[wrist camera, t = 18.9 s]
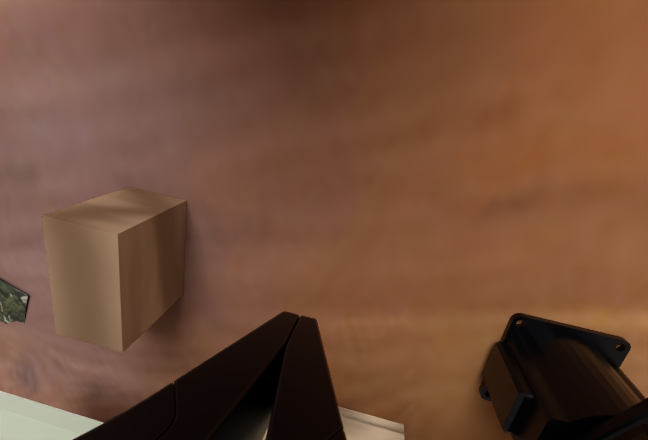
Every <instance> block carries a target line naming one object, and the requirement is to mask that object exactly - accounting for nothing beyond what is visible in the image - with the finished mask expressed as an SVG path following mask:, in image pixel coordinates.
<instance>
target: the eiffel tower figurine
mask: <svg viewBox="0 0 648 440" xmlns="http://www.w3.org/2000/svg"><path fill="white" fill-rule="evenodd" d="M27 297H28V295H27V294H25V293H23V292H21V291H20V290H18V289H16V288H14V287H12V286H10V285H9V284H7V283H6V282H4V281H2V280H1V279H0V321H2V322H4V323H6V324H7V323H8V322H14V321H19V322H22V323H25V311H26V304H27Z"/></svg>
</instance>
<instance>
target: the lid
mask: <svg viewBox="0 0 648 440" xmlns="http://www.w3.org/2000/svg"><path fill="white" fill-rule="evenodd" d="M101 424H103V422H100V421H96V420H93V419H90V418H87V417H83V416H80V415H77V414H74V413H70V412H67V411H64V410H61V409H57V408H54V407H51V406H48V405H44V404H41V403H38V402H35V401H31V400H28V399H25V398H21V397H18V396H15V395H12V394H8V393H5V392H2V391H0V440H73V439H74V438H76V437H78V436H80V435H82V434H84V433H86V432H88V431H90V430H92V429H94V428H95V427H97V426H99V425H101Z"/></svg>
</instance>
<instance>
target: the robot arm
mask: <svg viewBox="0 0 648 440" xmlns="http://www.w3.org/2000/svg"><path fill="white" fill-rule="evenodd" d="M519 320H523V322H522V323H521V324H516V322H517V321H519ZM619 344H622V345H621V346H620V347H618V348H616V346H617V345H619ZM630 348H631V346H630V344H629V343H628V342H627V341H626V340H625V339H624V338H622V337H619V336H615V335H610V334H606V333H602V332H598V331H594V330H590V329H585V328H581V327H577V326H573V325H569V324H564V323H560V322H556V321H552V320H548V319H544V318H539V317H535V316H531V315H527V314H523V313H516V314H514V315H512V316H511V318H510V320H509V322H508V324H507V326H506V329H505V331H504V333H503V336H502V338H501V340H500V341H498V342H497V343H496V344H495V346H494V348H493V350H492V352H491V355H490V357H489V359H488V362H487V364H486V366H485V369H484V371H483V377H484V379H483V381H482V383H481V386H480V388H479V391H480V394H481V397H482V398H483V399H486V400H489V401H492V403H493V406H494V408H495V411H496V414H497V417H498V420H499V423H500V425H501V427H502V429H503V431H504V432H506V433H509V434H511V436H512V439H513V440H648V398H645V397H644V396H643V395H642V393H641V392H640V391H639V390H638V389H637V388H636V387H635V385H634V384H633V383H632V382H631V381H630V380H629V378H628V377H627V376H626V375H625V374H624V373H623V372H622V370H621V369H620V368H619V367H620V366H621V364H622V362H623V361H624V359H625V357H626V356H627V354H628V352H629V351H630ZM486 391H489V393H485V392H486ZM267 428H268V430H267ZM266 430H267V435H266V439H265V440H347V439H346V435H345V432H344V431H343V430H344V427H343V423H342V419H341V415H340V411H339V407H338V403H337V399H336V395H335V391H334V387H333V383H332V379H331V375H330V371H329V367H328V363H327V359H326V355H325V351H324V347H323V343H322V339H321V335H320V331H319V327H318V323H317V320H316V319H314V318H310V317H306V316H300V317H299V315H298V314H294V313H290V312H285V311H284V312H282V313H280V314H278V315H277V316H275V317H274V318H272V319H271V320H269V321H268V322H266V323H264V324H263V325H261V326H260V327H258V328H257V329H255V330H253V331H252V332H250V333H249V334H247V335H246V336H244V337H242V338H241V339H239V340H238V341H236V342H235V343H233V344H232V345H230V346H228V347H227V348H225V349H224V350H222V351H221V352H219V353H217V354H216V355H214V356H213V357H211V358H210V359H208V360H207V361H205V362H203V363H202V364H200V365H199V366H197V367H196V368H194V369H192V370H191V371H189V372H188V373H186V374H185V375H183V376H182V377H180V378H178V379H177V380H175V381H174V384H173V383H170V384H169V385H167V386H166V387H164V388H162V389H161V390H159V391H158V392H156V393H155V394H153V395H151V396H150V397H148V398H146V399H145V400H143V401H141V402H140V403H138V404H137V405H135V406H133V407H132V408H130V409H128V410H126V411H125V412H123V413H121V414H119V415H117V416H115V417H114V418H112V419H110V420H108V421H106V422H105V423H103V424H101V425H99V426H97V427H95V428H94V429H92V430H90V431H88V432H86V433H84V434H82V435H80V436H78V437H76V438H74V439H73V440H262V439H263V437H264V435H265V432H266Z"/></svg>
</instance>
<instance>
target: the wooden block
mask: <svg viewBox="0 0 648 440" xmlns="http://www.w3.org/2000/svg"><path fill="white" fill-rule="evenodd" d="M186 205H187V200H183V199H179V198H175V197H170V196H166V195H162V194H157V193H153V192H148V191H144V190H140V189H135V188H131V187H127V188H124V189H120V190H117V191H114V192H111V193H108V194H105V195H102V196H99V197H96V198H93V199H90V200H87V201H84V202H81V203H78V204H75V205H72V206H69V207H66V208H63V209H60V210H57V211H54V212H51V213H48V214H45V215H42V224H43V232H44V240H45V248H46V256H47V264H48V272H49V280H50V288H51V296H52V305H53V313H54V321H55V329H56V334H59V335H62V336H66V337H69V338H73V339H76V340H80V341H83V342H87V343H90V344H94V345H97V346H101V347H105V348H108V349H112V350H115V351H119V352H122V353H123V352H124V351H125V350H126V349H127V348H128V347H129V346H130V345H131V344H132V343H133V342H134V341H135V340H136V339H137V338H138V337H140V336H141V335H142V334H143V333H144V332H145V331H146V330H147V329H148V328H149V327H150V326H151V325H152V324H153V323H154V322H155V321H156V320H157V319H158V318H160V317H161V316H162V315H163V314H164V313H165V312H166V311H167V310H168V309H169V308H170V307H171V306H172V305H173V304H174V303H175V302H176V301H177V300H178V299H180V298H181V297H182V296H183V294H184V264H185V235H186Z"/></svg>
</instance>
